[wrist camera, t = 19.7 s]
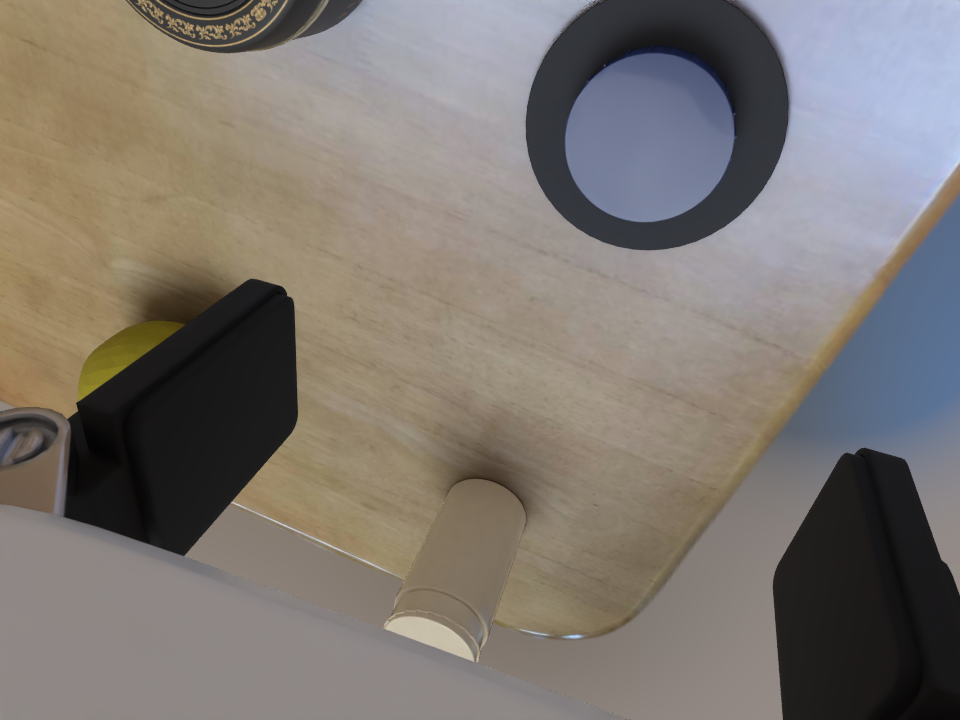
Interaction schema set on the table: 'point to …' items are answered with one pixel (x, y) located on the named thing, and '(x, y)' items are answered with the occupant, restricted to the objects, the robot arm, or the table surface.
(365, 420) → the table surface
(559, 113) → the coaster
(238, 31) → the jar
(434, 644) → the cream canister
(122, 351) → the lemon
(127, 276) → the table surface
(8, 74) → the table surface
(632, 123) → the jar lid
